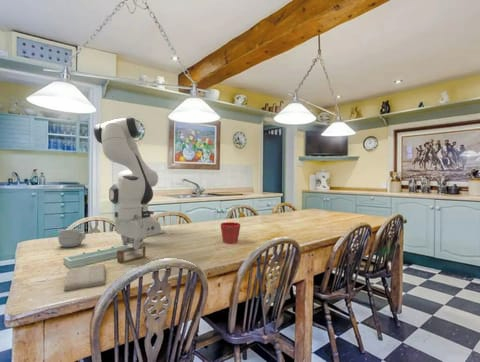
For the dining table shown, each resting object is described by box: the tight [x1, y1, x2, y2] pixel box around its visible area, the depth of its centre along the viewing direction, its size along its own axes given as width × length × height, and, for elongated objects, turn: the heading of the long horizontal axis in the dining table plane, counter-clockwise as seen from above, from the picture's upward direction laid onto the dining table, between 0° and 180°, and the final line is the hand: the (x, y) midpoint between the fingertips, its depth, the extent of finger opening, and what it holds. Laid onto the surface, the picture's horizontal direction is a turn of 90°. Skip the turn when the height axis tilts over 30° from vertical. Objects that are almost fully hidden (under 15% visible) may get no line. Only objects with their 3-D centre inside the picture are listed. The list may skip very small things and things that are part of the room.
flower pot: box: [220, 221, 241, 244], centre depth 148 cm, size 11×11×10 cm
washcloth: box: [63, 263, 106, 291], centre depth 96 cm, size 12×18×3 cm, turn 27°
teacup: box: [57, 228, 86, 248], centre depth 138 cm, size 14×11×8 cm
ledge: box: [63, 244, 133, 269], centre depth 119 cm, size 27×8×3 cm, turn 139°
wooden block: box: [116, 244, 146, 264], centre depth 117 cm, size 11×3×5 cm, turn 139°
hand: (130, 247), depth 116 cm, fingers open, 8 cm apart
